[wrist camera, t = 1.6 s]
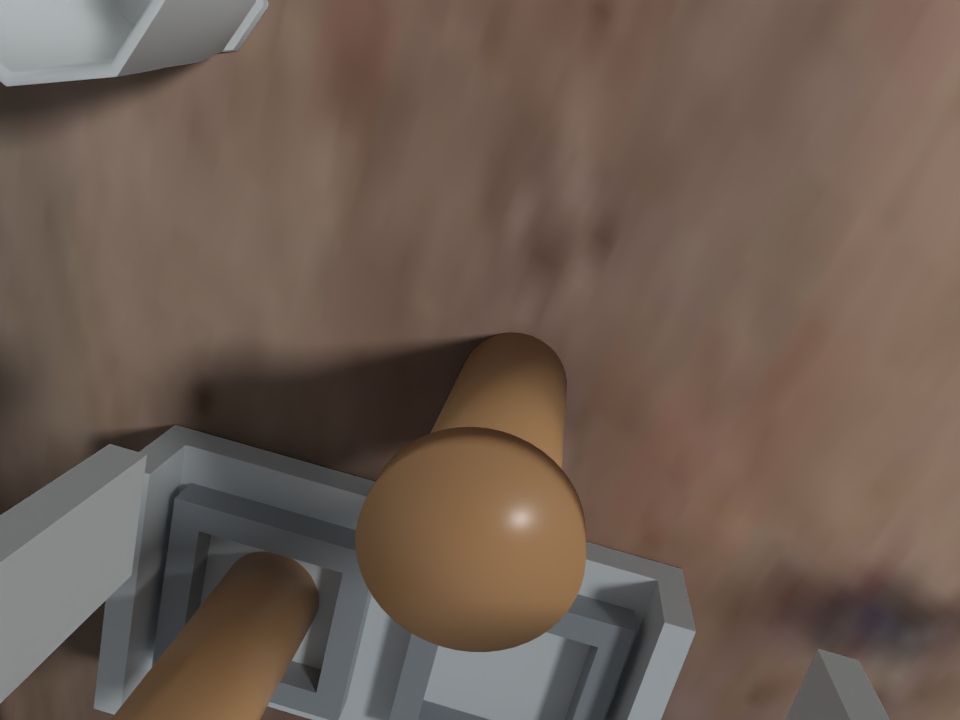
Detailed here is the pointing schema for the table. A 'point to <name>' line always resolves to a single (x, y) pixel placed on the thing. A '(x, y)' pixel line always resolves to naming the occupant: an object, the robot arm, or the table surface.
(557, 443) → the tan ball-headed post
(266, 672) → the rounded wooden peg
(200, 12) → the cup
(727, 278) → the table surface
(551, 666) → the tray
